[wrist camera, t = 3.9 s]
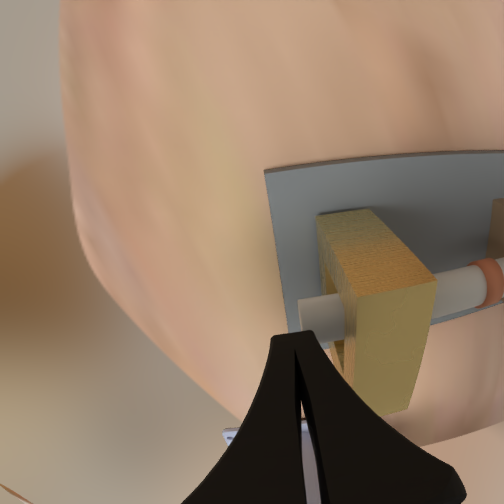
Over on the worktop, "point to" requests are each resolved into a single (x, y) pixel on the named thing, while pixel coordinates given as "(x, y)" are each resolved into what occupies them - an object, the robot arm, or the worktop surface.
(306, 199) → the rail
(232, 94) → the worktop surface
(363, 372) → the collar
